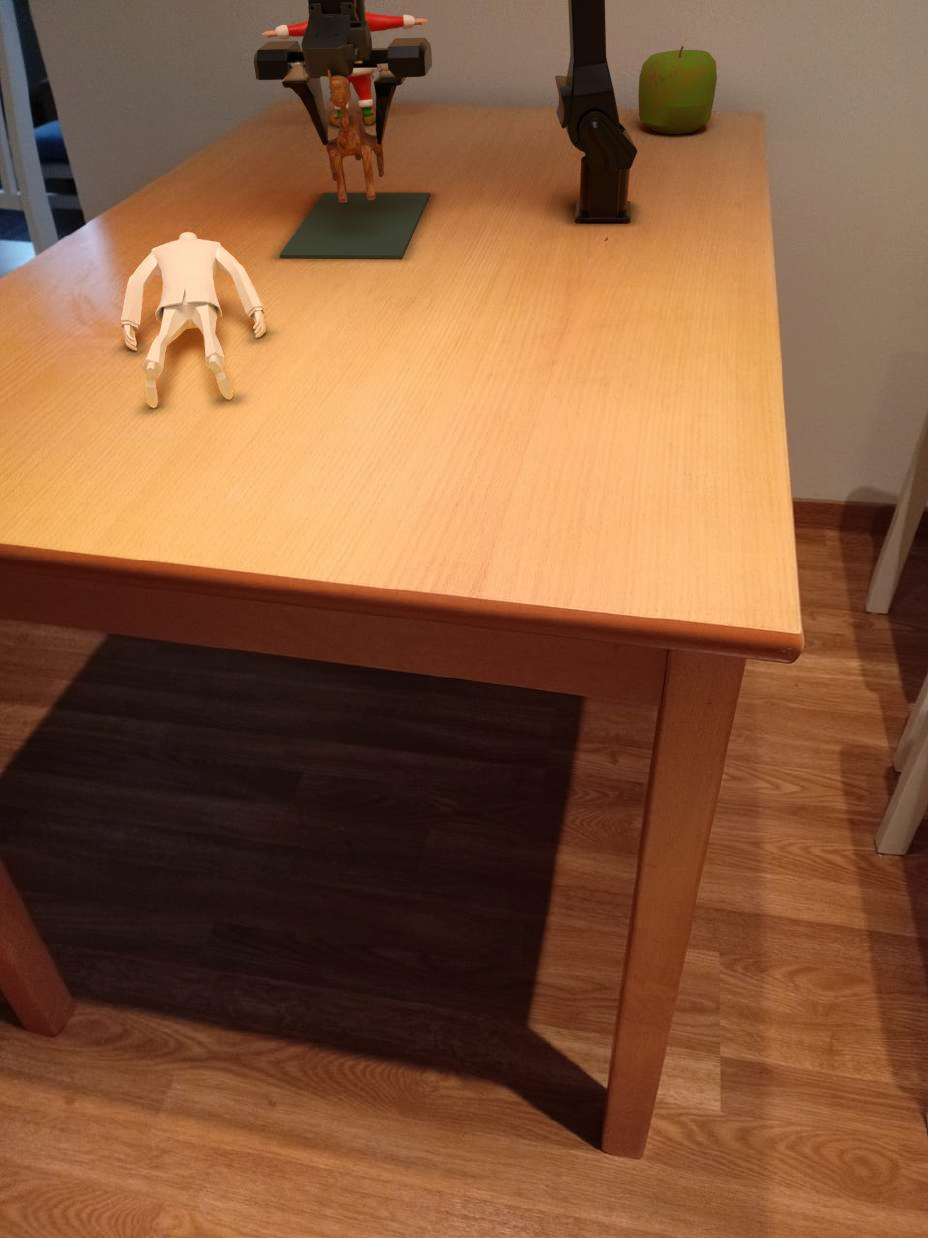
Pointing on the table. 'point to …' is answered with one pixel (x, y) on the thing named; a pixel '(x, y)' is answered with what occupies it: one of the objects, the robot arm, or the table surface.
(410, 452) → the table surface
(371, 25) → the santa figurine
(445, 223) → the table surface
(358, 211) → the mat
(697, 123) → the apple
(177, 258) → the male figurine
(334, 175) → the cat figurine
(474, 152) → the table surface
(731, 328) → the table surface
